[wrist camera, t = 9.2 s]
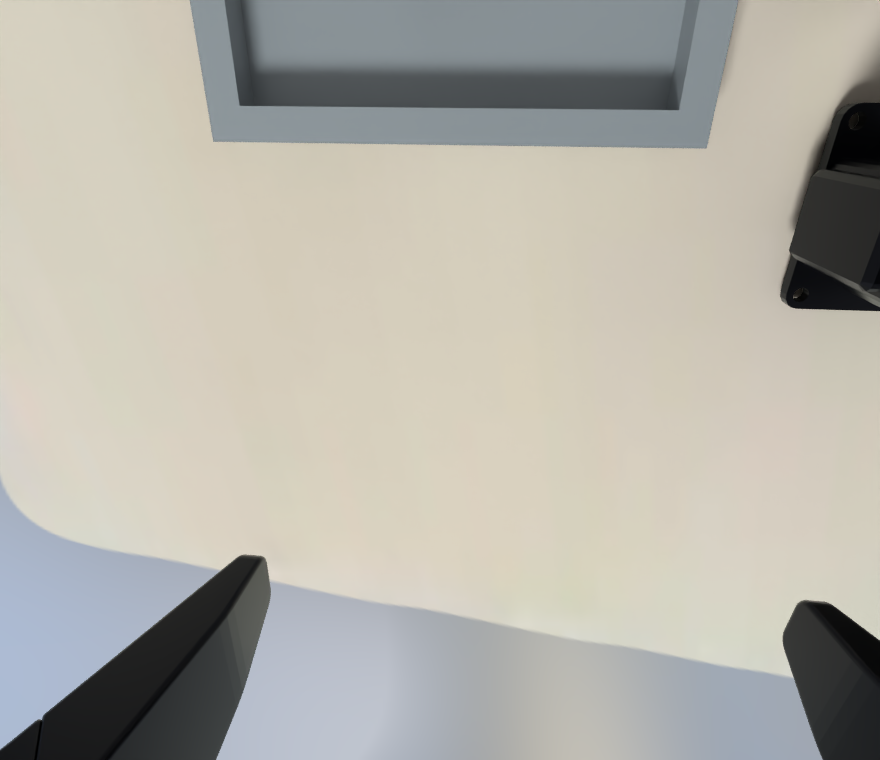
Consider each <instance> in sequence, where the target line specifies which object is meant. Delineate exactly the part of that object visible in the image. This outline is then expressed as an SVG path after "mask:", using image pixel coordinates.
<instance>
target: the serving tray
mask: <svg viewBox="0 0 880 760" xmlns="http://www.w3.org/2000/svg"><path fill="white" fill-rule="evenodd" d="M190 4H191V10H192V16H193V22H194V28H195V34H196V40H197V46H198V52H199V58H200V64H201V70H202V76H203V82H204V88H205V94H206V100H207V106H208V112H209V118H210V124H211V130H212V136H213V142H282V143H354V144H426V145H499V146H571V147H643V148H707V144H708V139H709V135H710V130H711V125H712V121H713V116H714V111H715V107H716V102H717V97H718V93H719V88H720V83H721V79H722V74H723V69H724V65H725V60H726V55H727V51H728V46H729V42H730V37H731V32H732V28H733V23H734V18H735V14H736V9H737V4H738V0H190Z"/></svg>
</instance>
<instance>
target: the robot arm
mask: <svg viewBox="0 0 880 760" xmlns="http://www.w3.org/2000/svg"><path fill="white" fill-rule="evenodd" d="M855 113H857V114H858V116H859V120H858V122H857V124H856V126H854V127H853V128H852V129H850V127H849V120H850V118H851V116H853V115H854V114H855ZM789 251H790V253H791V254H792V256H791V259H790V262H789V266H788V269H787V272H786V276H785V279H784V282H783V285H782V289H781V293H780V297H781V299H782V301H783V302H784V303H785V304H787V305H789V306H790V307H792V308H796V309H827V310H860V311H880V103H851V104H848V105H846V106H844V107H843V108H841V109H840V110H839V112H838V113H837V114H836V116H835V118H834V120H833V122H832V126H831V129H830V132H829V135H828V139H827V142H826V145H825V148H824V152H823V155H822V158H821V161H820V165H819V168H818V171H817V172H816V173H815V174H814V175H813V176H812V177H811V180H810V183H809V186H808V190H807V193H806V196H805V199H804V203H803V206H802V209H801V213H800V216H799V219H798V223H797V226H796V229H795V232H794V236H793V239H792V242H791V246H790V249H789ZM800 288H803V292H802V294H801V295H800V296H799V297H797V298H793V295H794V293H795V291H797V290H798V289H800ZM270 595H271V588H270V581H269V575H268V568H267V562H266V559H265V558H264V557H262V556H256V555H241V556H239V557H237V558H236V559H235V560H233V561H232V562H231V563H230V564H228V565H227V566H226V567H225V568H224V569H222V570H221V571H220V572H219V573H218V574H216V575H215V576H214V577H213V578H212V579H210V580H209V581H208V582H206V583H205V584H204V585H203V586H202V587H200V588H199V589H198V590H197V591H195V592H194V593H193V594H192V595H190V596H189V597H188V598H187V599H185V600H184V601H183V602H182V603H181V604H179V605H178V606H177V607H176V608H174V609H173V610H172V611H171V612H169V613H168V614H167V615H166V616H165V617H163V618H162V619H161V620H160V621H159V622H157V623H156V624H155V625H153V626H152V627H151V628H150V629H149V630H147V631H146V632H145V633H144V634H142V635H141V636H140V637H139V638H138V639H136V640H135V641H134V642H133V643H131V644H130V645H129V646H128V647H126V648H125V649H124V650H123V651H122V652H120V653H119V654H118V655H117V656H115V657H114V658H113V659H112V660H111V661H109V662H108V663H107V664H106V665H104V666H103V667H102V668H101V669H100V670H98V671H97V672H96V673H95V674H93V675H92V676H91V677H90V678H88V679H87V680H86V681H85V682H83V683H82V684H81V685H80V686H78V687H77V688H76V689H75V690H74V691H72V692H71V693H70V694H69V695H67V696H66V697H65V698H64V699H63V700H61V701H60V702H59V703H58V704H57V705H55V706H54V707H53V708H51V709H50V710H49V711H48V712H47V713H45V714H44V716H43V718H42V720H40V719H39V720H37V721H35V722H34V723H33V724H31V725H30V726H29V727H28V728H27V729H25V730H24V731H23V732H22V733H20V734H19V735H18V736H17V737H16V738H14V739H13V740H12V741H11V742H9V743H8V744H7V745H6V746H4V747H3V748H2V749H1V750H0V760H216V758H217V756H218V753H219V751H220V749H221V746H222V744H223V741H224V739H225V736H226V734H227V731H228V729H229V726H230V724H231V722H232V719H233V717H234V714H235V712H236V709H237V707H238V704H239V701H240V699H241V696H242V693H243V690H244V687H245V684H246V681H247V678H248V674H249V671H250V668H251V664H252V660H253V657H254V654H255V650H256V647H257V643H258V640H259V637H260V633H261V630H262V626H263V623H264V619H265V616H266V613H267V609H268V606H269V601H270ZM783 646H784V650H785V653H786V656H787V659H788V662H789V665H790V668H791V671H792V674H793V677H794V680H795V683H796V686H797V688H798V692H799V695H800V698H801V700H802V704H803V707H804V709H805V713H806V715H807V719H808V722H809V725H810V727H811V730H812V733H813V736H814V739H815V741H816V744H817V747H818V749H819V751H820V754H821V756H822V759H823V760H880V640H878V639H877V638H876V637H874V636H873V635H872V634H870V633H869V632H868V631H866V630H865V629H864V628H862V627H861V626H860V625H858V624H857V623H856V622H854V621H853V620H852V619H850V618H849V617H848V616H846V615H845V614H844V613H842V612H841V611H840V610H838V609H837V608H836V607H834V606H833V605H831V604H829V603H827V602H822V601H809V600H803V601H801V602H799V603H798V604H797V605H796V607H795V609H794V611H793V613H792V615H791V618H790V620H789V622H788V624H787V626H786V628H785V630H784V632H783Z"/></svg>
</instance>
